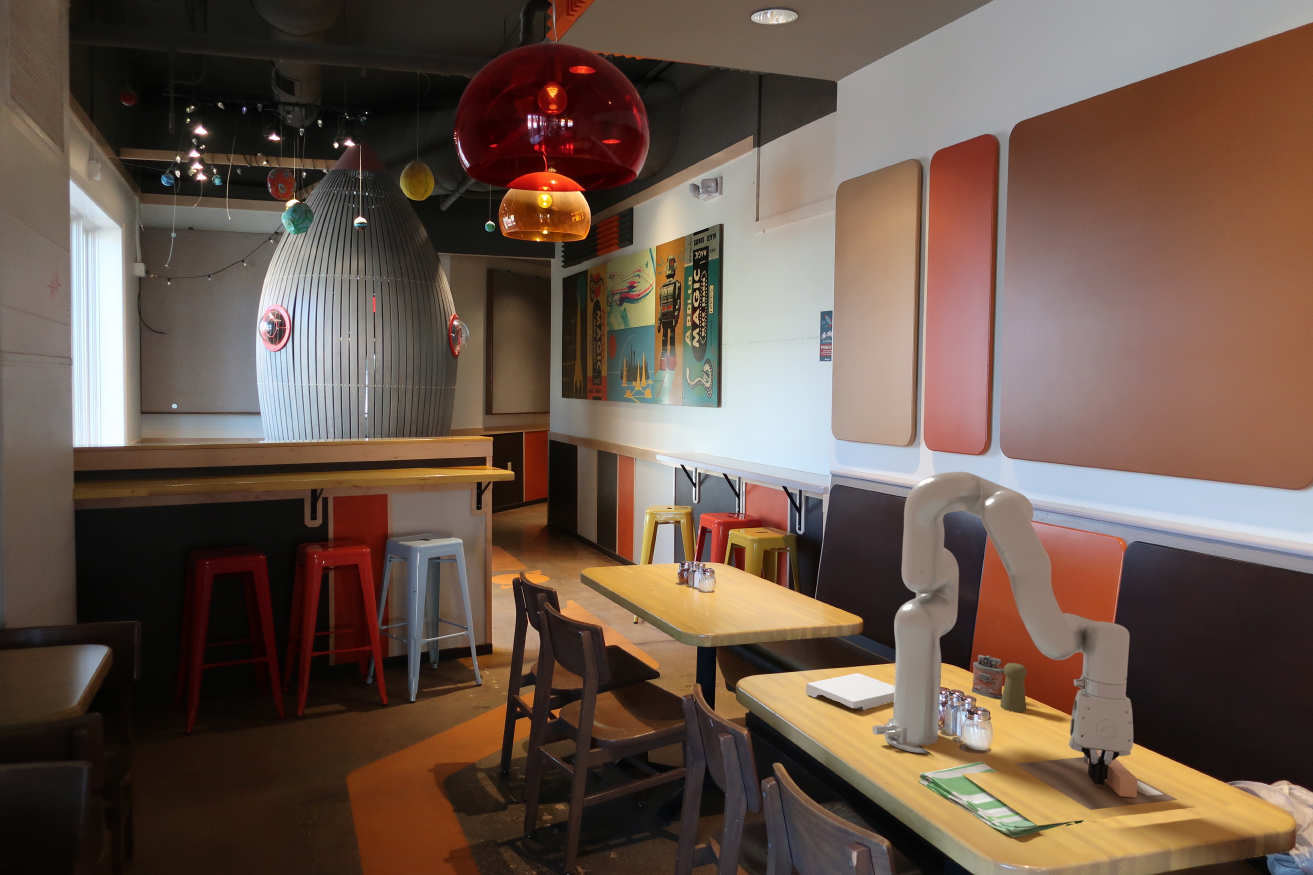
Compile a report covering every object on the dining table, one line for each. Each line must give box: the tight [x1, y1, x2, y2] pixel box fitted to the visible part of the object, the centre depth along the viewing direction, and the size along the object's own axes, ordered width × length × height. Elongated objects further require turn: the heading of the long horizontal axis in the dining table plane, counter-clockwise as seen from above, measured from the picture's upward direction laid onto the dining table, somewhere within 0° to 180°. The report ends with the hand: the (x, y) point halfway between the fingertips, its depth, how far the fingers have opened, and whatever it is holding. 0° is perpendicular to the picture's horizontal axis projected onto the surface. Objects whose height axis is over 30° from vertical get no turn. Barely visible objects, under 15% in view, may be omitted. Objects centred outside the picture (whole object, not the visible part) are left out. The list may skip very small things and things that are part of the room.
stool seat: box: [1014, 756, 1178, 811], centre depth 164 cm, size 20×20×2 cm
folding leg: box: [1083, 750, 1138, 797], centre depth 166 cm, size 18×4×4 cm, turn 173°
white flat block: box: [805, 672, 895, 711], centre depth 213 cm, size 15×3×20 cm
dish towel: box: [918, 761, 1085, 838], centre depth 157 cm, size 18×23×3 cm
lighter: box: [971, 654, 1005, 700], centre depth 219 cm, size 8×3×10 cm, turn 40°
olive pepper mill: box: [999, 662, 1028, 713], centre depth 209 cm, size 6×6×11 cm
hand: (1097, 781), depth 162 cm, fingers closed
